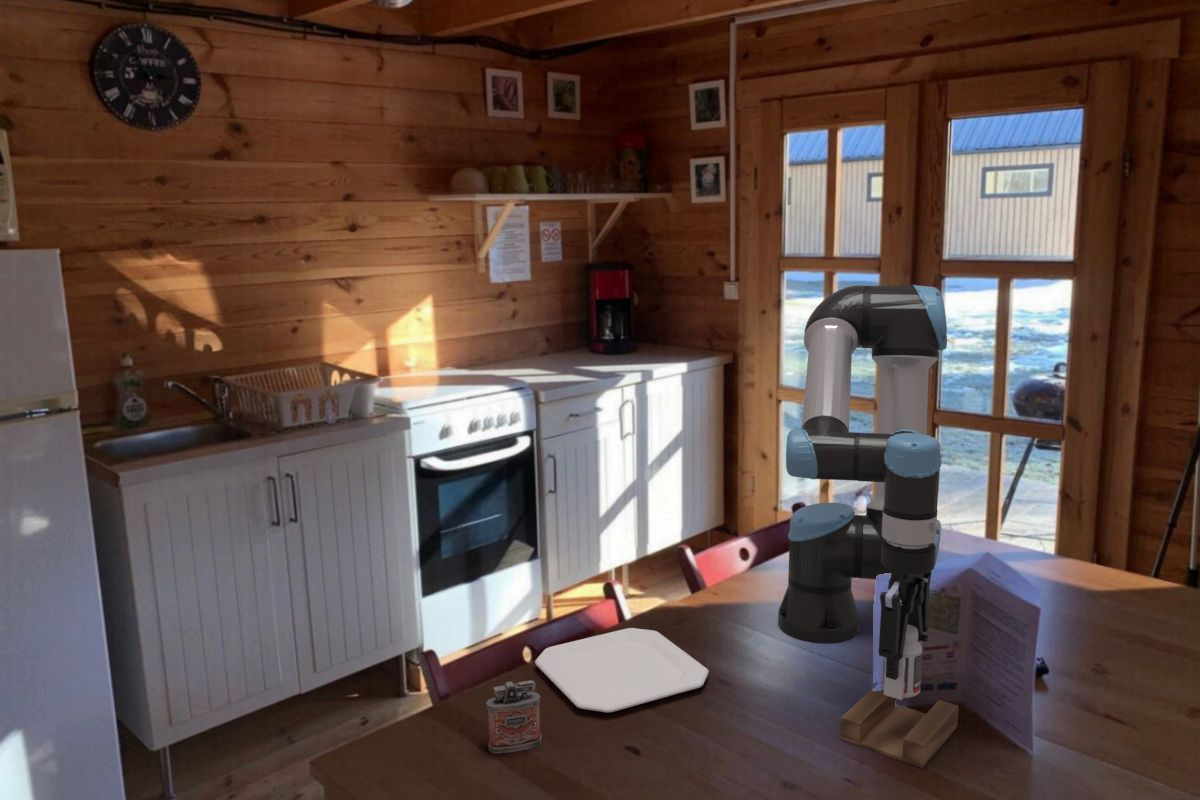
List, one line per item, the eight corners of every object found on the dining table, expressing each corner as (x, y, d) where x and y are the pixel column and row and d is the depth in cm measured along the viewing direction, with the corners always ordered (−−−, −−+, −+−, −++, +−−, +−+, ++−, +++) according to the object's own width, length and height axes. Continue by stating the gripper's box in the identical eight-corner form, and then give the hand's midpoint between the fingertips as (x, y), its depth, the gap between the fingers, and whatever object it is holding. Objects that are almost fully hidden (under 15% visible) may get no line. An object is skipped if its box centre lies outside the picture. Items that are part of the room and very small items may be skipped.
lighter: (490, 755, 142) (487, 693, 140) (486, 743, 145) (483, 682, 143) (544, 746, 144) (541, 684, 142) (538, 734, 147) (536, 674, 145)
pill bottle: (907, 679, 148) (910, 619, 146) (927, 695, 143) (931, 634, 141) (875, 684, 146) (878, 623, 144) (895, 701, 141) (897, 638, 139)
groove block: (840, 738, 145) (840, 717, 144) (878, 701, 155) (879, 681, 155) (922, 768, 137) (923, 745, 136) (957, 726, 147) (958, 705, 147)
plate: (526, 663, 171) (525, 651, 171) (647, 633, 182) (647, 622, 182) (588, 728, 149) (588, 715, 149) (721, 690, 160) (721, 677, 160)
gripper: (909, 564, 131) (901, 721, 135) (956, 529, 145) (948, 672, 149) (857, 553, 135) (851, 705, 140) (908, 519, 149) (901, 659, 154)
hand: (901, 688), depth 144 cm, fingers closed on pill bottle, 5 cm apart
